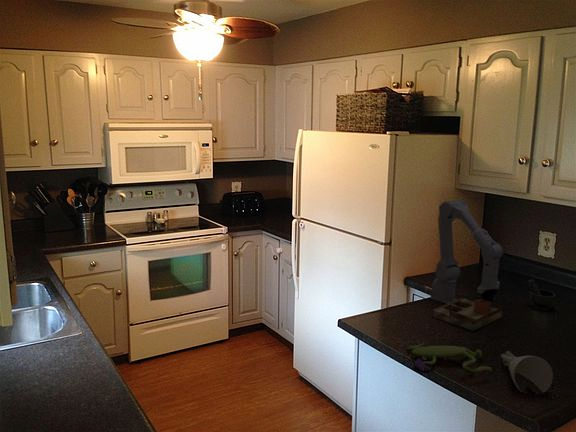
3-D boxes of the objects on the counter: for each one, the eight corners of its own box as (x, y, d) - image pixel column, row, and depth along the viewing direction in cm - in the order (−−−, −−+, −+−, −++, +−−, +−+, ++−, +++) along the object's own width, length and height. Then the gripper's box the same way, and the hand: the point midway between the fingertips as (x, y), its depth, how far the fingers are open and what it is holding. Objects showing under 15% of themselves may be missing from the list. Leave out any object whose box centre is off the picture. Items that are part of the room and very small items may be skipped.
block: (473, 311, 207) (474, 300, 206) (479, 308, 210) (480, 298, 209) (484, 315, 204) (485, 304, 203) (489, 312, 206) (491, 301, 206)
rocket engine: (505, 334, 170) (531, 348, 152) (532, 358, 170) (561, 374, 152) (482, 361, 170) (505, 377, 152) (508, 384, 170) (534, 404, 152)
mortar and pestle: (554, 307, 222) (557, 280, 220) (553, 314, 214) (557, 286, 212) (525, 302, 227) (528, 275, 225) (523, 308, 219) (527, 281, 217)
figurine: (490, 387, 157) (492, 370, 156) (400, 369, 166) (402, 353, 165) (490, 360, 174) (492, 345, 172) (409, 346, 183) (410, 331, 182)
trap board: (431, 316, 208) (432, 305, 207) (461, 304, 223) (462, 293, 222) (473, 331, 195) (474, 319, 194) (501, 317, 209) (502, 305, 208)
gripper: (490, 280, 198) (487, 313, 201) (508, 273, 208) (504, 305, 211) (473, 275, 204) (470, 308, 206) (491, 268, 213) (488, 300, 216)
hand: (486, 306), depth 209 cm, fingers closed
